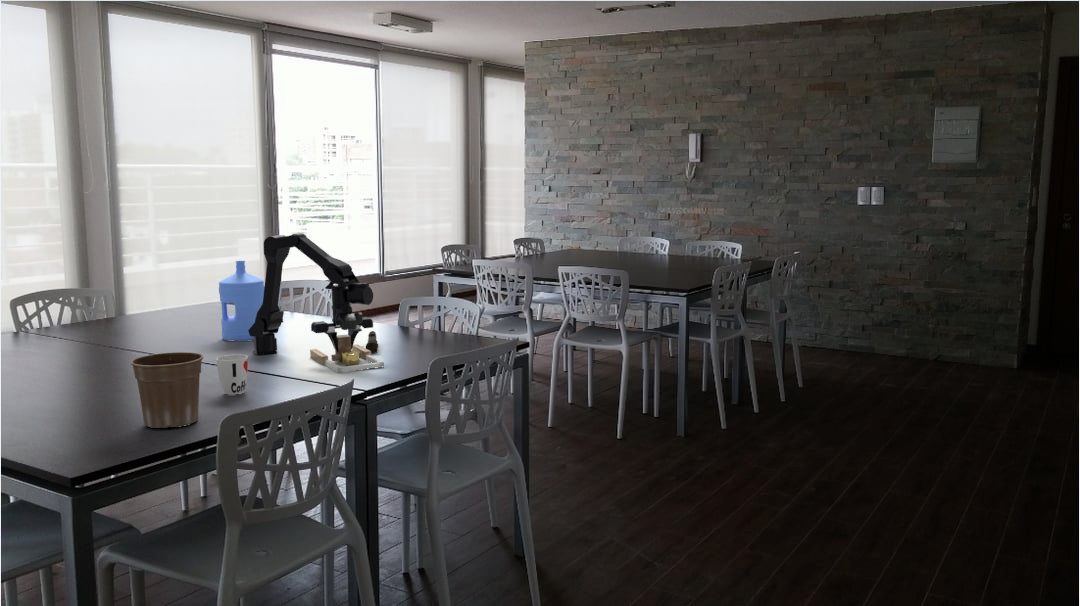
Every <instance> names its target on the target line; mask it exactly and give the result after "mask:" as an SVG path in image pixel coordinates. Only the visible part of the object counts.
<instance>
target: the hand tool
mask: <svg viewBox="0 0 1080 606" xmlns="http://www.w3.org/2000/svg"><path fill="white" fill-rule="evenodd" d="M376 333H377V332H376V331H374V330H371V331H370V332H369V333H368V335H367V337H368V338H367V343H366V344H365V348H366V349H368V350H370V351H371V354H376V353H378V348H379V344H378V340H377V334H376ZM375 352H376V353H375Z"/></svg>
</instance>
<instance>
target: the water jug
mask: <svg viewBox="0 0 1080 606" xmlns="http://www.w3.org/2000/svg"><path fill="white" fill-rule="evenodd" d="M235 264H236V265H235V269H236V270H235V273H233V274H231V275H229V276H227V277H226V278H223V279H222V280H220V281H219V282H218V293H219V300H220V301H219V302H221V315H222V316H221V320H220V321H221V338H222V340H224V339H225V340H224V341H226V340H234V341H242V342H249V341H248V340H253V341H254V337H253V336H250V334H249V331H248V330H249V329H250V328H251V326H252V325H253V324H254V323H255V318H256V315H257V312H258V310H259V309H260V307H261V306H262V303H263V295H264V287H265V280H264V279H262V278H261V277H258V276H256V275H253V274H251V273H248V272H247V271H246V260H236V261H235ZM227 303H229V304H230V303H231V304H234V311H235V312H234V313H235V314H234V315H233V316H228V306H227V305H228V304H227ZM246 340H247V341H246Z"/></svg>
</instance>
